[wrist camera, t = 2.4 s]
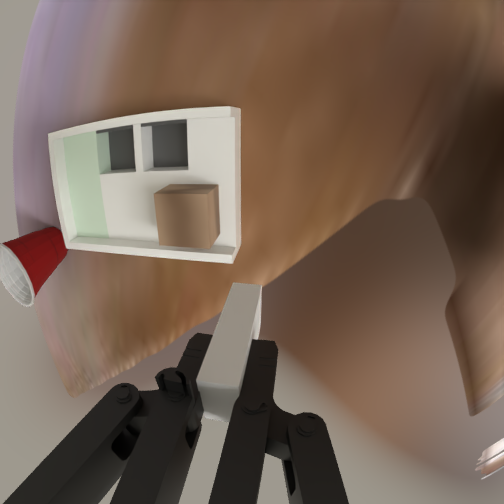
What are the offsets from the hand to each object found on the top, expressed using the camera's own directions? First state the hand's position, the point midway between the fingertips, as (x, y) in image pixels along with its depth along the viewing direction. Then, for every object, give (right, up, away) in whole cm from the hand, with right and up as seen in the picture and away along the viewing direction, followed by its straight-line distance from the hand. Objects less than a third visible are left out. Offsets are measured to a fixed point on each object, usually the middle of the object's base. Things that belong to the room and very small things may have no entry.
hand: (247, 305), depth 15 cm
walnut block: (-6, +8, +15) cm, 18 cm away
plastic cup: (-33, +4, +25) cm, 41 cm away
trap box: (-13, +12, +18) cm, 25 cm away
